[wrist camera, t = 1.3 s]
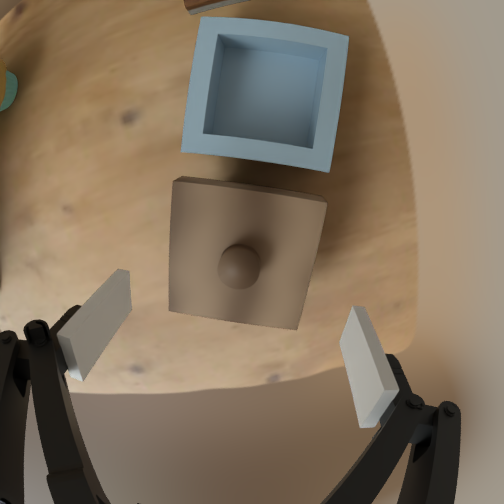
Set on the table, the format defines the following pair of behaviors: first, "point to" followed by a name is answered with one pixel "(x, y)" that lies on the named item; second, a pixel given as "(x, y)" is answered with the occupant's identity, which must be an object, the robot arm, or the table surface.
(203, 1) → the white stacked pedestal
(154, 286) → the table surface
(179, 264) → the lid
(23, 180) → the table surface
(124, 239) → the table surface
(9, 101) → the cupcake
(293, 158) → the dish
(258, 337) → the table surface
